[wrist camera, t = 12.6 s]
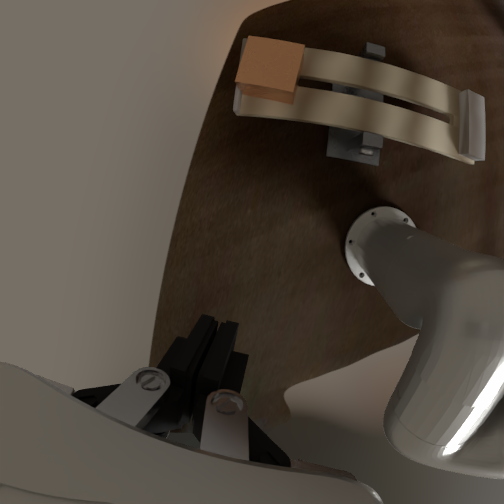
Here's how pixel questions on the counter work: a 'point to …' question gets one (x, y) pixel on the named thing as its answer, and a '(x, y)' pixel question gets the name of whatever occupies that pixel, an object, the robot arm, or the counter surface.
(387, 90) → the beam
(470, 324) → the robot arm
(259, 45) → the block
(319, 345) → the counter surface
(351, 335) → the counter surface
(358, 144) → the pivot stand
